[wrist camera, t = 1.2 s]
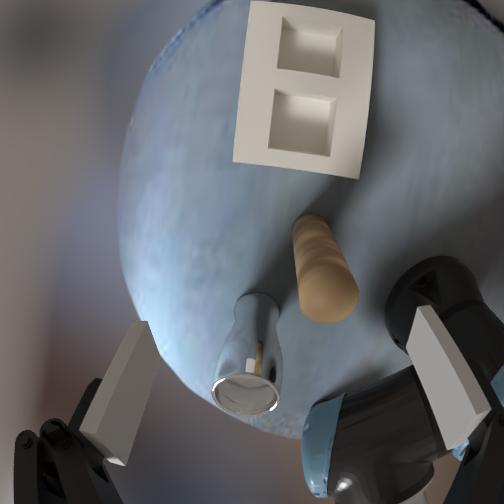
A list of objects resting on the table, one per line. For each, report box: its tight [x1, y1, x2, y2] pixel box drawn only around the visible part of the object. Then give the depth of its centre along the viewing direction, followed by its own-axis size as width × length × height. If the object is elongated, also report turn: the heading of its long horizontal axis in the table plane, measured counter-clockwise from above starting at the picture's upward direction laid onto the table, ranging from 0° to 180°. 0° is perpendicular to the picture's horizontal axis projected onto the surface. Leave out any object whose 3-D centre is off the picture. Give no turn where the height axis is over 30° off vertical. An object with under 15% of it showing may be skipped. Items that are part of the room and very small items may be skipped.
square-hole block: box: [233, 1, 375, 180], centre depth 26 cm, size 12×17×6 cm
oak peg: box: [292, 213, 359, 323], centre depth 28 cm, size 4×4×15 cm
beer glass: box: [211, 293, 283, 417], centre depth 33 cm, size 7×7×15 cm
